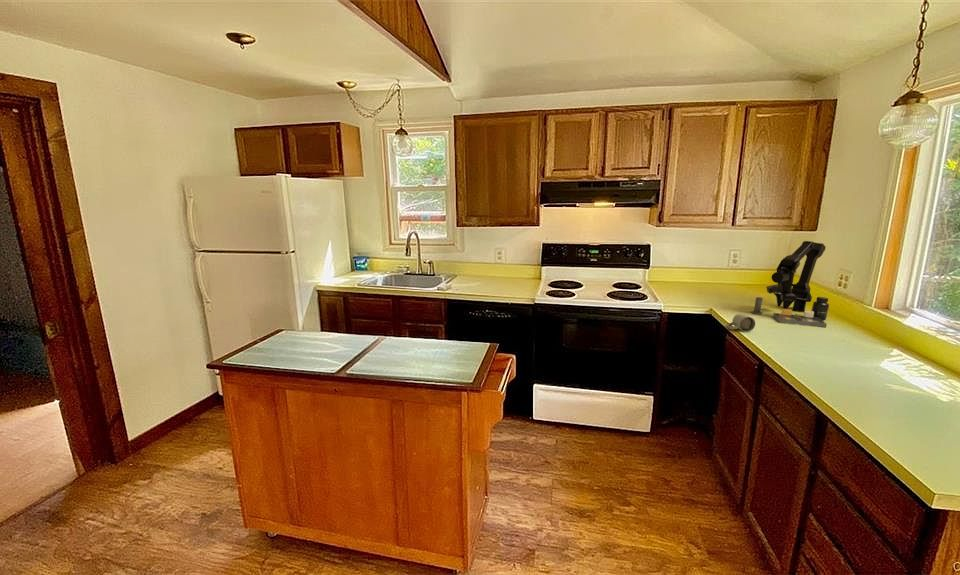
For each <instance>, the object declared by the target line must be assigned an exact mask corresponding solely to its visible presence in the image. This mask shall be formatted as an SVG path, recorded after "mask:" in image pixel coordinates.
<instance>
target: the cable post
mask: <svg viewBox="0 0 960 575" xmlns="http://www.w3.org/2000/svg"><path fill="white" fill-rule="evenodd" d="M763 300H764V299H763V298H762V297H759V296H756V298H755V302H754V309H753V310H751V312H750V313H751V314H752V315H758V316H761V315H762V316H763V312H761V309H762V303H763Z"/></svg>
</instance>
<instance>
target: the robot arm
mask: <svg viewBox="0 0 960 575" xmlns="http://www.w3.org/2000/svg"><path fill="white" fill-rule="evenodd" d="M825 251H826V245H825V244H824V243H821V242H815V241H813V240H812V241H811V240H810V241H809V240H804V241H803V242H802V243H801V245H800V246H798V248H797V249H796V250H794V252H793V253H792V254H789V255H786V256H785V257H783V258H782V259H781V261H780V263H779V264H778V266H777V267H776V271H775V272H773V273H772V275H771V280H772V282H774V283H776V284H771V285H768V286H765V287H766V291H767V293H768V294H773V295H774V296H775V297H776V306H777V307H781V305H782V309H791V310H792V311H793V312H801V311H803V313H804V311H807V310H806V306H807V303H811V302H812V299H813V297H812V294H811V287H810V285H809V284H810V282H811V281H810V280H811V278H812V275H813V272H814V270H815V266H816V263H817V261H818V259H819V258H820V257H821V256H823V254H824V252H825ZM804 257H806V259H805V261H804V264H803V267H802V270H801V273H800V277H799V279H798V281H797V282H796V283H794V280H795V279H794V277H795V274H796V273H797V269H798V268H799V267H800V265H801V262H800V261H801V260H802V259H803V258H804ZM792 304H793V305H792ZM791 305H792V307H790V306H791Z"/></svg>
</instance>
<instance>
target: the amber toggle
mask: <svg viewBox="0 0 960 575" xmlns="http://www.w3.org/2000/svg"><path fill="white" fill-rule="evenodd" d="M792 311H793V310H792V309H791V308H787V309H783V308H782V309H781V314H782V315H790V316H791V315H792Z"/></svg>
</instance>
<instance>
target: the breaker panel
mask: <svg viewBox="0 0 960 575" xmlns="http://www.w3.org/2000/svg"><path fill="white" fill-rule="evenodd" d="M772 318H774V319H775V320H776V321H777V322H779V324H786V323H788V324H789V325H796V324H799V326H806V325H809V326H808V327H816V326H817V327H819V328H827V323H826V322H825V321H822V320H821V319H819V318H818V317H813V318H811V317H804V315H800V314H798V313H794V314H791V316H790V315H782V313H779V312H773V314H772Z"/></svg>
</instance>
